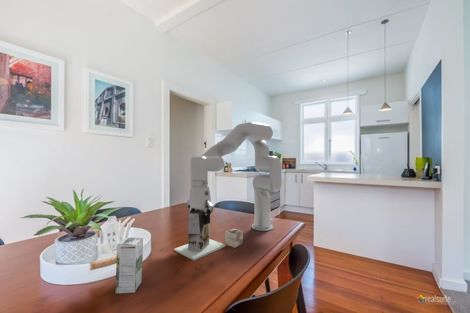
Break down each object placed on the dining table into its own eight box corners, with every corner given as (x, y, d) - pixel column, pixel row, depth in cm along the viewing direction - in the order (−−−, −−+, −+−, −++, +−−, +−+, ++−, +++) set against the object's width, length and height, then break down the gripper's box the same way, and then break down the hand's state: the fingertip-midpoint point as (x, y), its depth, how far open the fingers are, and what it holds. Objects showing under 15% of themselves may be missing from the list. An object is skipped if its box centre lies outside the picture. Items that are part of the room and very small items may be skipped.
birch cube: (233, 240, 102) (233, 228, 102) (243, 243, 98) (243, 230, 98) (225, 244, 97) (225, 231, 98) (234, 247, 93) (234, 234, 94)
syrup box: (123, 282, 66) (124, 237, 66) (142, 282, 67) (143, 236, 67) (115, 294, 60) (115, 244, 61) (135, 293, 61) (136, 243, 61)
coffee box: (201, 252, 87) (201, 213, 87) (187, 250, 88) (187, 212, 89) (210, 244, 95) (210, 209, 96) (197, 242, 97) (197, 208, 98)
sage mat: (205, 238, 104) (205, 237, 104) (225, 246, 95) (225, 244, 95) (174, 250, 90) (174, 248, 90) (193, 260, 81) (193, 258, 81)
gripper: (218, 184, 90) (219, 223, 89) (194, 181, 101) (194, 216, 101) (205, 186, 84) (206, 227, 84) (181, 183, 95) (181, 220, 95)
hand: (199, 221), depth 92 cm, fingers open, 9 cm apart
